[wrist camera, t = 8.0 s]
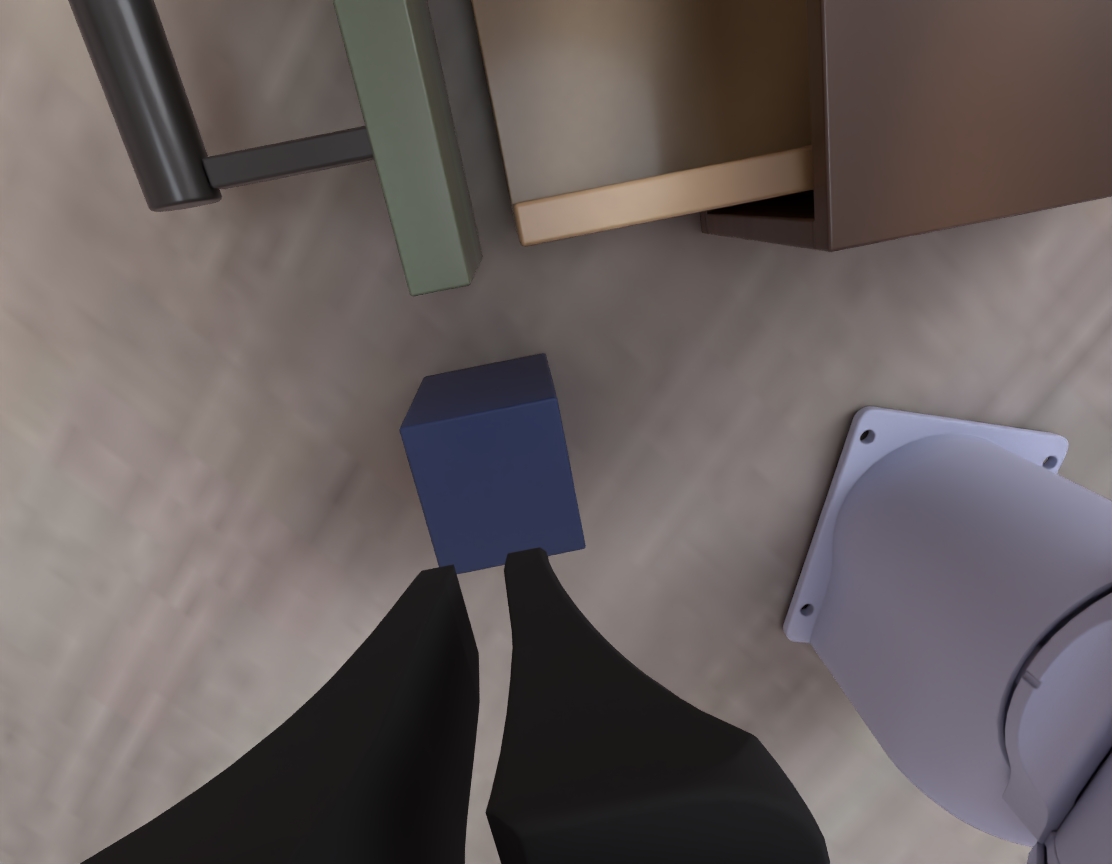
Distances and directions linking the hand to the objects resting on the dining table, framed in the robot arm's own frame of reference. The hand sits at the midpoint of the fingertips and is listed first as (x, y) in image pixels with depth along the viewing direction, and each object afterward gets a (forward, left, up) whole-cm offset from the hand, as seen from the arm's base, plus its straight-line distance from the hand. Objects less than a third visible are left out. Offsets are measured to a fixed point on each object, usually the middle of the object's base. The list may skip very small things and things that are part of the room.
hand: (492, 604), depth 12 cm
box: (0, 0, -10) cm, 10 cm away
